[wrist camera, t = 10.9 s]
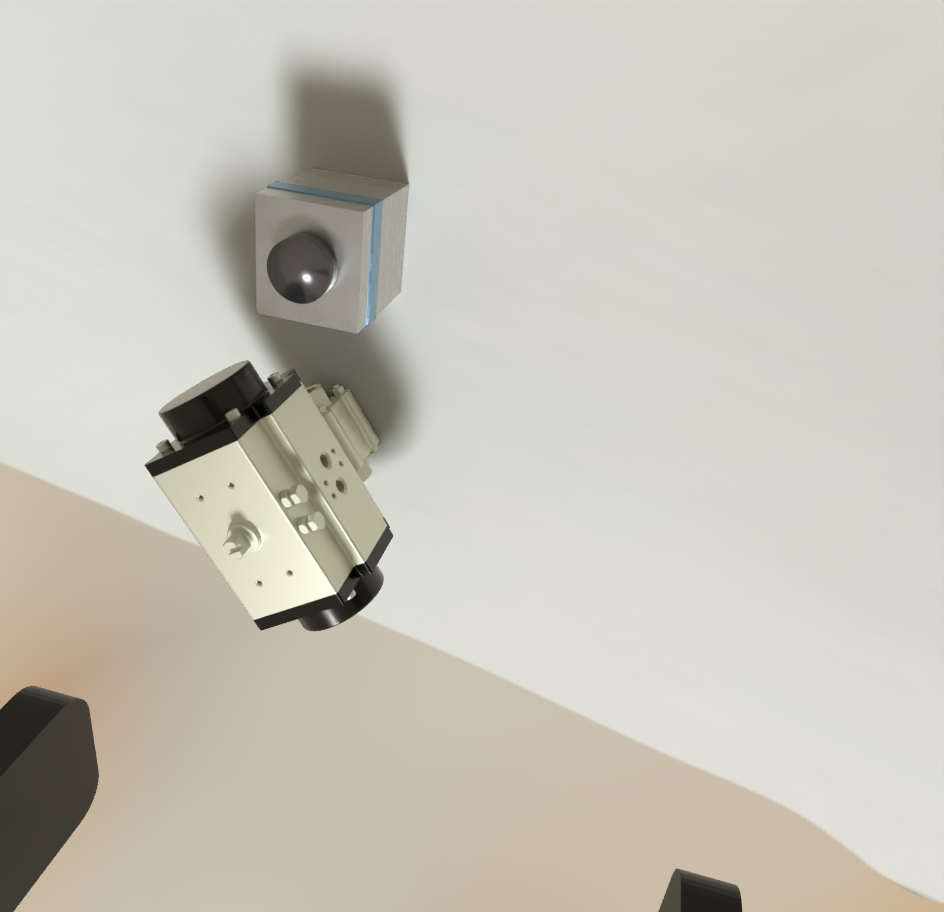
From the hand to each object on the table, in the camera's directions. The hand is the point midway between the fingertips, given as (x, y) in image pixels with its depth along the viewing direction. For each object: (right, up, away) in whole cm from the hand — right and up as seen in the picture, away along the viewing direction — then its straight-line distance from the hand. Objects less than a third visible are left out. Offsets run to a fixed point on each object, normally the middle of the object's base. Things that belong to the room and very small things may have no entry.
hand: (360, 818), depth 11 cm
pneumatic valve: (-5, +7, +33) cm, 34 cm away
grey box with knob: (-4, +15, +28) cm, 32 cm away
